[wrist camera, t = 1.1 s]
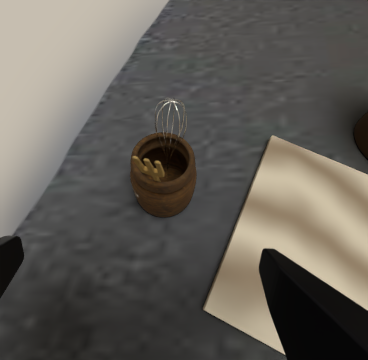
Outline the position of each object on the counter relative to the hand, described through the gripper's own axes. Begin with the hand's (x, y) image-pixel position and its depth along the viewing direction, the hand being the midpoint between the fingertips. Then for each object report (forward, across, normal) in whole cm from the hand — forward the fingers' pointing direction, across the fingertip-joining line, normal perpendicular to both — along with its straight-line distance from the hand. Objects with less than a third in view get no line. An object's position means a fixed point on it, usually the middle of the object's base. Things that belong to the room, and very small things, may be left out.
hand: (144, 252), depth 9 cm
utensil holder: (+15, 0, +4) cm, 16 cm away
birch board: (+12, -14, +7) cm, 20 cm away
